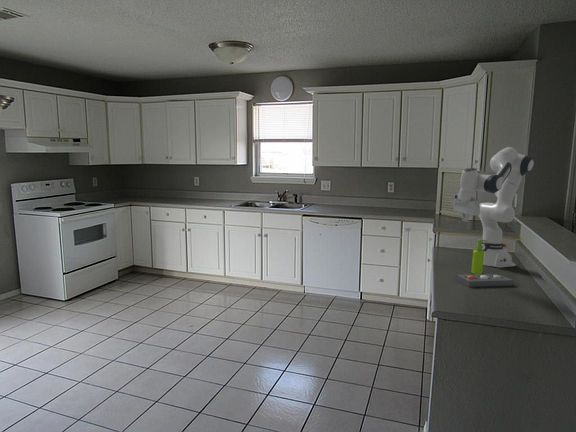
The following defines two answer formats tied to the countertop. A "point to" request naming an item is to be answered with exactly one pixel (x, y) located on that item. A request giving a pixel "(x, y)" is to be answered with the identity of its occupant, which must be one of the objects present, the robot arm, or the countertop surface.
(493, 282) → the console
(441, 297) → the countertop surface
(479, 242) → the soap dispenser
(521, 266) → the countertop surface
